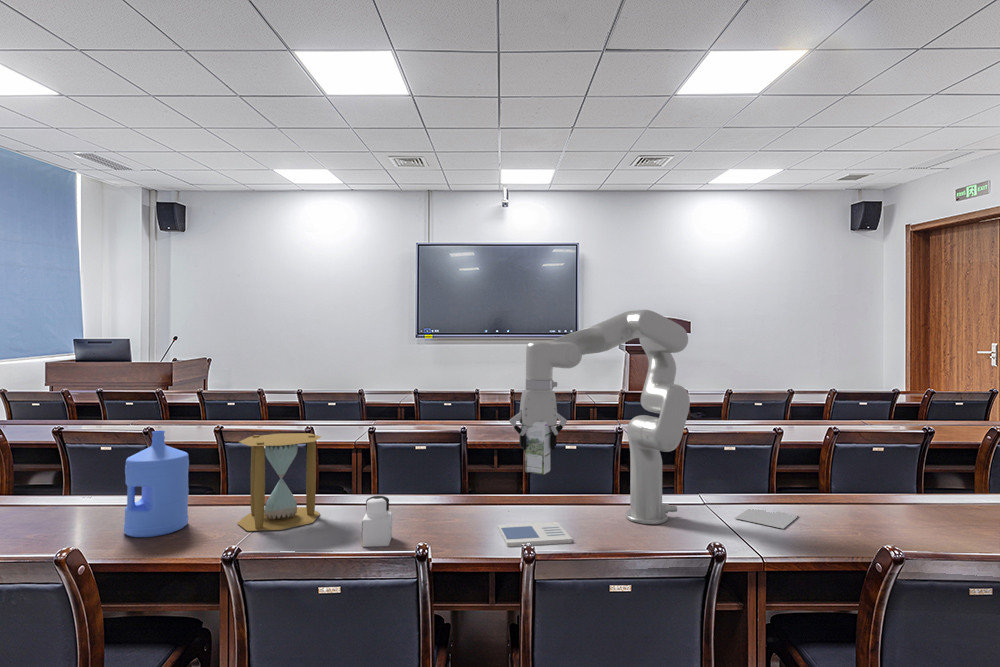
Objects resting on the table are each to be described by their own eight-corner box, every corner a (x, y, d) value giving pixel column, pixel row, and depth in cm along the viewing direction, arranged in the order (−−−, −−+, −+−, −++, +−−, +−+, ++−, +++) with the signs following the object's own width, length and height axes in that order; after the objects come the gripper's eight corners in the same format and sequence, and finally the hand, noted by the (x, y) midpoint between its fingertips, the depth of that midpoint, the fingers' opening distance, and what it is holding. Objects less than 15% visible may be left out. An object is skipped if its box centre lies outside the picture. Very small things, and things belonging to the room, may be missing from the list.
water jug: (179, 516, 167) (181, 425, 167) (194, 529, 156) (196, 431, 156) (118, 528, 156) (120, 431, 156) (130, 542, 145) (132, 438, 145)
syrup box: (550, 470, 153) (551, 419, 153) (543, 475, 147) (544, 421, 148) (531, 468, 155) (532, 417, 155) (524, 472, 150) (525, 420, 150)
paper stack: (833, 524, 163) (833, 522, 163) (812, 547, 145) (812, 544, 145) (752, 508, 179) (752, 506, 179) (724, 526, 161) (724, 524, 161)
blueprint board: (557, 525, 160) (557, 521, 160) (572, 542, 146) (572, 538, 146) (497, 528, 157) (497, 525, 157) (506, 546, 143) (506, 542, 143)
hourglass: (235, 537, 149) (236, 446, 150) (238, 513, 170) (239, 434, 170) (324, 525, 159) (325, 440, 160) (317, 505, 179) (317, 429, 180)
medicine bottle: (365, 537, 149) (366, 494, 150) (392, 537, 150) (392, 493, 150) (361, 547, 142) (361, 501, 142) (388, 546, 143) (389, 501, 143)
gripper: (564, 385, 157) (563, 446, 157) (505, 384, 154) (504, 447, 153) (572, 387, 150) (571, 451, 149) (511, 386, 147) (510, 452, 146)
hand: (537, 448), depth 151 cm, fingers closed on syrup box, 7 cm apart
